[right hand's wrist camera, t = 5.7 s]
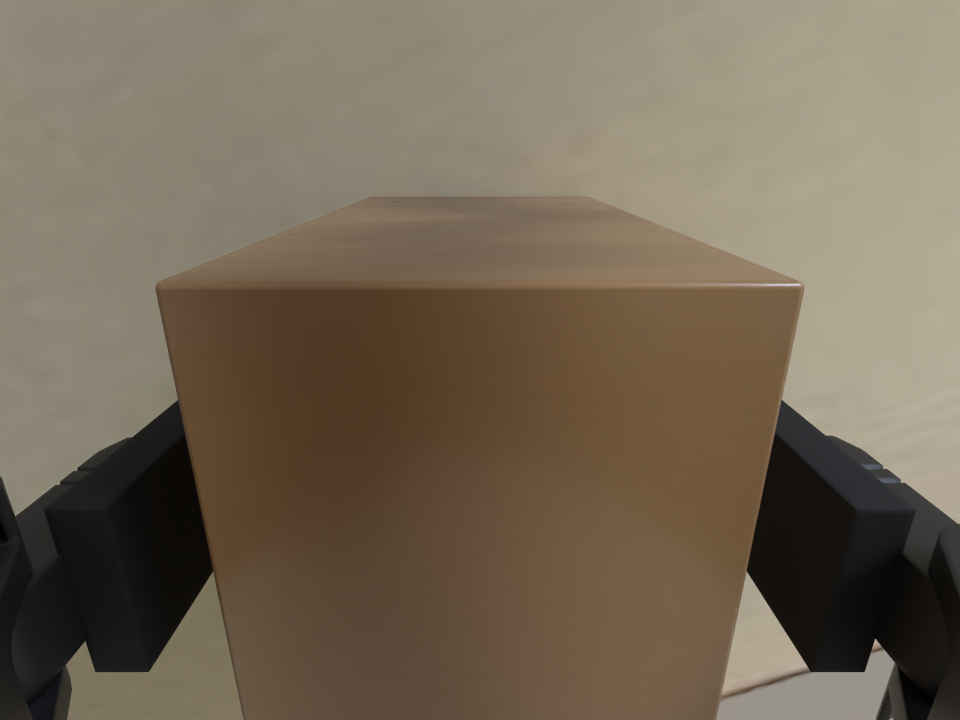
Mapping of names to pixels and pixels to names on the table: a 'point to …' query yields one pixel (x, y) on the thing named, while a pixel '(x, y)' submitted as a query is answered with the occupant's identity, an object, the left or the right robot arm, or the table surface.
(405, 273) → the wooden block
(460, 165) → the table surface
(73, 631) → the right robot arm
